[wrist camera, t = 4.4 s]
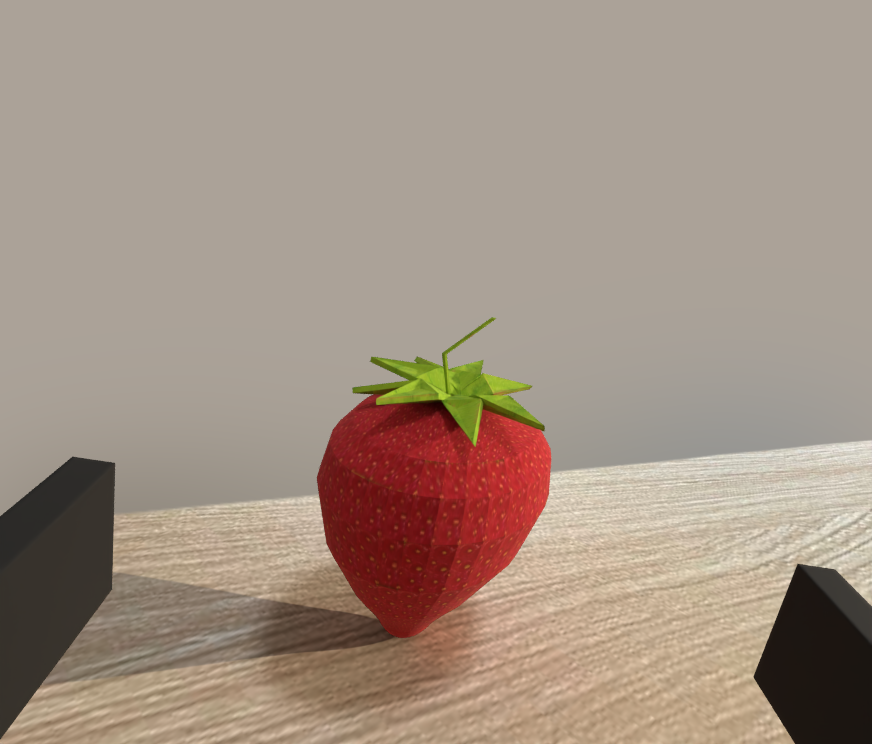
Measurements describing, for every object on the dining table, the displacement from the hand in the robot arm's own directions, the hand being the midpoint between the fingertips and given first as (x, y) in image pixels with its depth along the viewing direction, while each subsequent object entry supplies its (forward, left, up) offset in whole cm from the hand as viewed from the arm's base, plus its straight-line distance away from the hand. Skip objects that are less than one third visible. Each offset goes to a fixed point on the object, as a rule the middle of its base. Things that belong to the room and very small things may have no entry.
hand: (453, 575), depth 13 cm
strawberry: (+1, +5, -6) cm, 8 cm away
